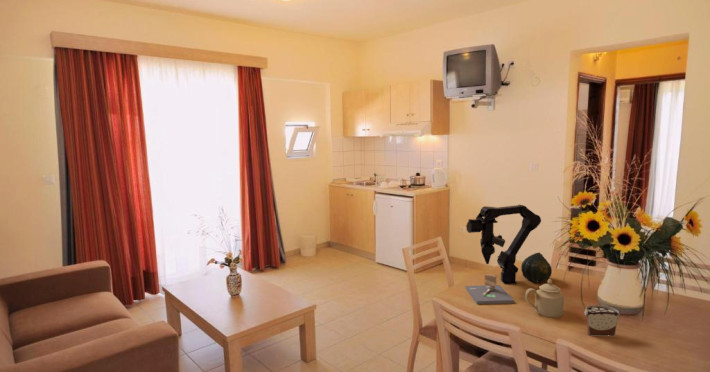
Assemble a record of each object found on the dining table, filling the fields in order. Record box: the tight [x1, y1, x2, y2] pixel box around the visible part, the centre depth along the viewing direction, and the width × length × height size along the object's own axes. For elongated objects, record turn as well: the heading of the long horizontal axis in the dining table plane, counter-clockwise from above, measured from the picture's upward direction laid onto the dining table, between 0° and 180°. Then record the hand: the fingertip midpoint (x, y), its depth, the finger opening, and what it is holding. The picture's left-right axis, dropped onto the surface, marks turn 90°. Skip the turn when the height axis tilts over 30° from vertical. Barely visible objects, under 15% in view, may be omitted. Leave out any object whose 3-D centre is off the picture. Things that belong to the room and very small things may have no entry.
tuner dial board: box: [465, 284, 515, 305], centre depth 200 cm, size 17×19×2 cm
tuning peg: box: [483, 273, 497, 295], centre depth 199 cm, size 12×5×7 cm, turn 143°
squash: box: [520, 252, 553, 283], centre depth 218 cm, size 14×15×15 cm
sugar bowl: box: [524, 278, 565, 318], centre depth 178 cm, size 15×11×15 cm
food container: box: [584, 304, 621, 337], centre depth 161 cm, size 12×6×10 cm, turn 84°
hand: (487, 261), depth 213 cm, fingers open, 9 cm apart
